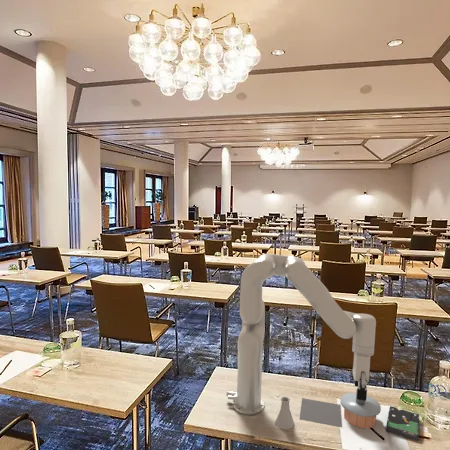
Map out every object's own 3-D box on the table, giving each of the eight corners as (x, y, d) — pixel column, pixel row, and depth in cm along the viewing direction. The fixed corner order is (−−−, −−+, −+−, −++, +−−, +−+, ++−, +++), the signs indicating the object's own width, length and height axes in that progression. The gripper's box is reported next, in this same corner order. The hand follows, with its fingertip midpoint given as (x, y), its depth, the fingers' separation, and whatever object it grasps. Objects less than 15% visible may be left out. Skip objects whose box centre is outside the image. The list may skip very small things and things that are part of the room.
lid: (341, 412, 128) (342, 397, 128) (339, 392, 141) (340, 379, 141) (383, 419, 124) (384, 404, 124) (377, 399, 138) (378, 385, 137)
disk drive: (389, 412, 140) (385, 432, 127) (389, 405, 140) (386, 425, 127) (418, 421, 135) (418, 442, 122) (419, 413, 135) (419, 435, 122)
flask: (280, 417, 134) (281, 391, 133) (298, 425, 129) (299, 398, 129) (270, 426, 128) (271, 399, 128) (288, 434, 124) (289, 407, 123)
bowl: (344, 426, 129) (345, 410, 129) (343, 410, 140) (344, 395, 140) (377, 432, 126) (378, 416, 126) (373, 415, 137) (374, 400, 137)
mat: (299, 421, 132) (299, 418, 132) (302, 399, 146) (302, 398, 146) (341, 429, 128) (342, 427, 128) (340, 406, 142) (340, 404, 142)
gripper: (350, 338, 141) (348, 380, 142) (354, 355, 124) (351, 403, 125) (371, 341, 139) (368, 383, 140) (377, 359, 122) (374, 407, 123)
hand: (360, 392), depth 133 cm, fingers open, 9 cm apart
